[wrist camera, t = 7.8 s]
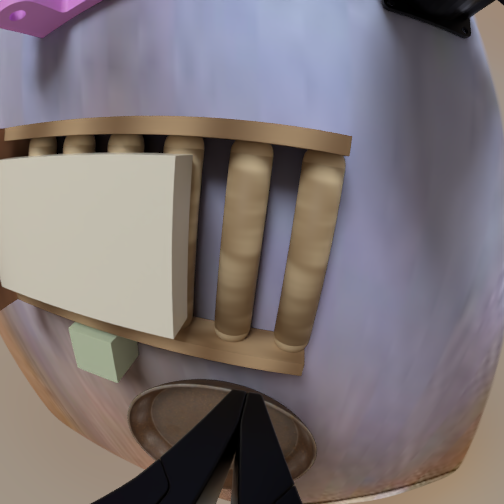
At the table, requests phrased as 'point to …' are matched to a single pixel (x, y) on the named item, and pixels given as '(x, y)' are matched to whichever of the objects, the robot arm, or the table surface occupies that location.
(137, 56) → the table surface
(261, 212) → the roller track
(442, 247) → the table surface
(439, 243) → the table surface
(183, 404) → the plant saucer
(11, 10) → the bracket
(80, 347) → the block
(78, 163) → the slab
